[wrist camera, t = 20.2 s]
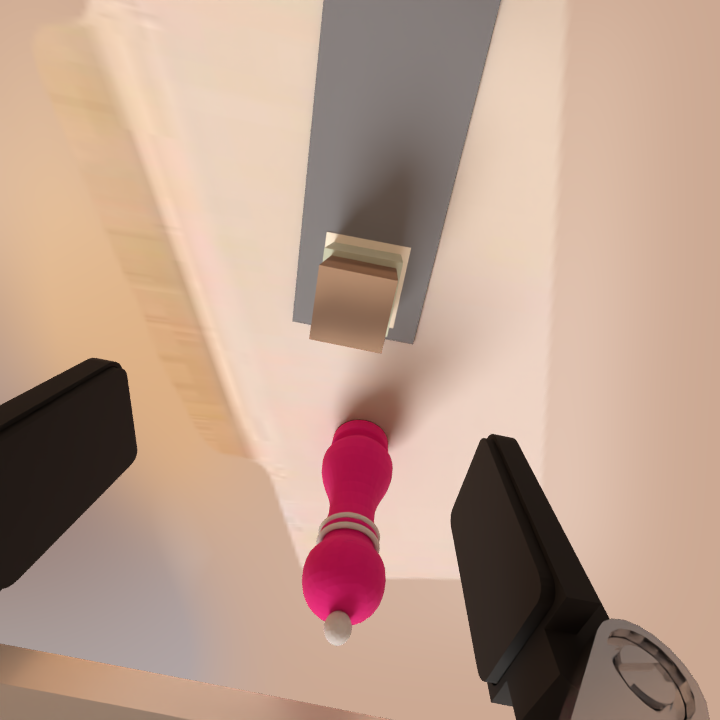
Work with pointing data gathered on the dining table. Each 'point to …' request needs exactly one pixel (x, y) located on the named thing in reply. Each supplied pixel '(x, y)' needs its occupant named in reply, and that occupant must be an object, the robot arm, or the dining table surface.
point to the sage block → (366, 259)
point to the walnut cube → (353, 303)
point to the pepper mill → (349, 531)
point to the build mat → (389, 136)
